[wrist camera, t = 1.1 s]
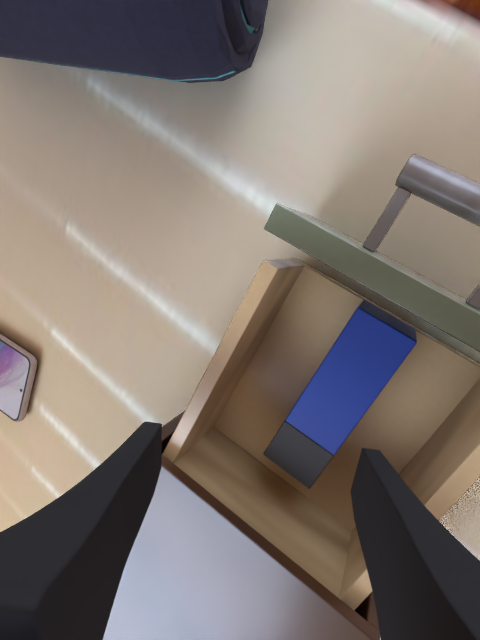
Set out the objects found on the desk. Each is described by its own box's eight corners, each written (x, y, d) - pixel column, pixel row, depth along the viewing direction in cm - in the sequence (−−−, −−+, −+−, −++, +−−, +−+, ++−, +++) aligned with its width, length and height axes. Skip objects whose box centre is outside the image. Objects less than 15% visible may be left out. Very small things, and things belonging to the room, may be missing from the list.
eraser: (364, 299, 20) (357, 306, 18) (416, 329, 20) (418, 341, 17) (278, 431, 24) (262, 454, 21) (320, 461, 23) (309, 489, 20)
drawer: (349, 140, 20) (328, 98, 15) (611, 262, 17) (712, 268, 11) (200, 416, 27) (146, 460, 21) (367, 543, 24) (355, 633, 18)
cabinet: (206, 394, 28) (136, 444, 20) (387, 527, 24) (379, 645, 17) (128, 539, 33) (52, 619, 26) (266, 665, 30) (221, 798, 22)
